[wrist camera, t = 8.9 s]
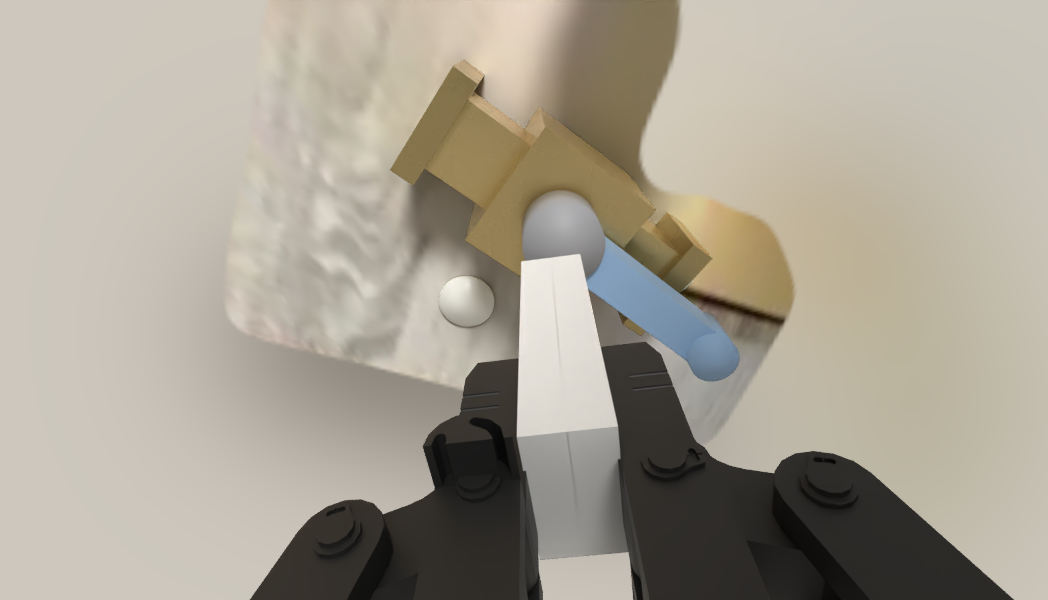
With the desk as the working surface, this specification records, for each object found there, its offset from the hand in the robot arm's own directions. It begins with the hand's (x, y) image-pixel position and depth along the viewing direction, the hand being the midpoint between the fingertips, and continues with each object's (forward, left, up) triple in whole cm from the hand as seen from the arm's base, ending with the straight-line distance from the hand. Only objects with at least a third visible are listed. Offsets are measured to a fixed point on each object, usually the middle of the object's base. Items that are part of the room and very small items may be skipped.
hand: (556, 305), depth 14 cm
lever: (+2, +9, -18) cm, 20 cm away
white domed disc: (+14, +3, -27) cm, 30 cm away
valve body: (+2, +3, -27) cm, 27 cm away
